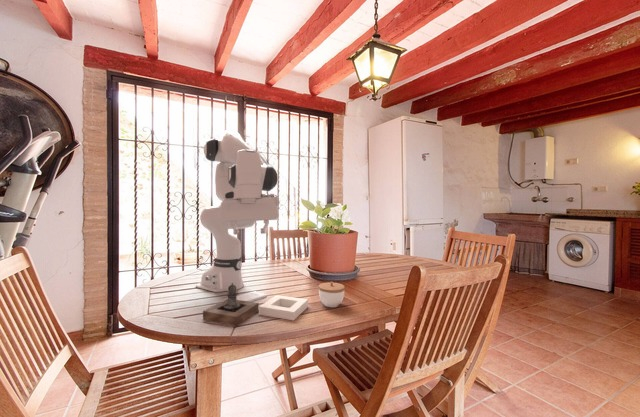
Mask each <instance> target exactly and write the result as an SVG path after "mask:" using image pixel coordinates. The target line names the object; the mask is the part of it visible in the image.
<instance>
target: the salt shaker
mask: <svg viewBox="0 0 640 417" xmlns="http://www.w3.org/2000/svg"><path fill="white" fill-rule="evenodd" d="M227 292H228V294H227V295H226V296H227V299H228V302H227V304H225V305H224V308H225V311H230V312H236V311H238V310H239V307H240V304H239V303H237V301H236V296H238V294H237V289H236V286H235V285H233V283H232V285H230V286H229V287H228V291H227Z"/></svg>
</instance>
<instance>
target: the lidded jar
mask: <svg viewBox="0 0 640 417" xmlns="http://www.w3.org/2000/svg"><path fill="white" fill-rule="evenodd" d="M345 289H346V287H345V285H344V284H342V283H339V282H333V281H330V282H328V281H327V282H322V283H320V284H319V285H318V296H319V300H320V301H321V303H322V304H323V305H324V307H327V308H337V307H339V305H340V304H341V303H342V302H343V300H344V296H345Z"/></svg>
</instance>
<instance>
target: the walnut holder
mask: <svg viewBox="0 0 640 417" xmlns="http://www.w3.org/2000/svg"><path fill="white" fill-rule="evenodd" d="M236 301H237V303H239V304H240V307H239V310H238V311H236V312H230V311H225V308H224V305H225V304H227V302H228V298H226V299H224V300H222V301H220V302H218V303H216V304H214V305H212V306H210V307H208V308H206V309H203V311H202V320H203V321H205V320H206V321H208V322H215V323H220V324H221V323H222V324H224V325H225V324H226V325H231V326H235V327H237V326H239V325H240V324H242V323H243V322H245V321H246V320H247V319H249V318H251V317H252V316H254V315H255V314H257V313H259V305H260V304H259V303H260V302H254V301H252V302H248V301H241V300H236Z"/></svg>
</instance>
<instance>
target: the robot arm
mask: <svg viewBox="0 0 640 417" xmlns="http://www.w3.org/2000/svg"><path fill="white" fill-rule="evenodd" d="M203 153H204V156H205V159H206V160H207V161H209V162H210V161H211V162H217V164H216V167H215V177H214V178H215V179H214V180H215V181H214V184H215V196H216V197H217V198H218V199H219V200H220V201H222V202H221V203H220V205H213V206H208V207H204V209H202V211H201V212H200V213H201V214H200V217H199V219H200V223H201V225H202V226H203V228H205V229H207V230H208V231H209V232H210V233H211V234H212V235H213V238H214V240H215V246H216V257H215V258H214V259H212V260H211V262H212V264H213V265H212V266H211V267H209V268H208V269H207V270H205V271H204V272H203V273H202V276H201V279H200V280H201V281H198V283H196V284H195V288H198V289H202V290H205V291H206V290H207V291H209V292H213V293H221V292H228V287H229V286H230V285H232V283H233V285H235V286H236V290H239V289H240V290H241V289H242V288H244V286H245V285H244V282H243V274H242V266H243V265H242V264H243V263H242V261H243V259H242V255H241V254H242V250H241V248H242V242H241V241H240V239H239V238H238V237H236V236H235V235H240V230H241V229H247V228H253V226H254V225H255V224H256V222H257V221H259V222H260V221H263V224H264V226H263V227H262V228H260V234H266V233H267V228H268V226H269V224H270V221H276V220H278V219H279V218H280V217H279V215H280V214H279V213H280V212H279V207H278V206H279V204H280V198H279V196H278V195H276V194H275V193H263V191H265V192H270V191H272V190H273V189H274V188H275V187H276V186H277V184H278V181H279V180H278V179H279V178H278V177H279V176H278V172H277V171H276V169H275V168H274V166H273V165H270V164H269V163H268V162H267V161H266V159H265V158H264V157H263V156H262V155H261V154H260V152H259V151H257V150H256V149H254V148H253V147H251V146H250V145H249V143H247V142H245V139H244V138H243V137H242V135H241V134H240V133H239V132H237V131H236V130H234V129H228V130H225V131H223V132H222V133H221V135H220V139H217V138H215V137H214V138H209V139H208V140H206V141H205V144H204V145H203ZM231 229H232V230H233V231H232V232H233V235H232V234H230V233H229V230H231Z"/></svg>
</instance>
